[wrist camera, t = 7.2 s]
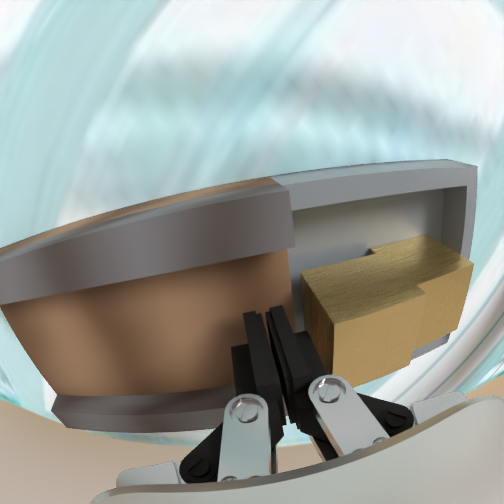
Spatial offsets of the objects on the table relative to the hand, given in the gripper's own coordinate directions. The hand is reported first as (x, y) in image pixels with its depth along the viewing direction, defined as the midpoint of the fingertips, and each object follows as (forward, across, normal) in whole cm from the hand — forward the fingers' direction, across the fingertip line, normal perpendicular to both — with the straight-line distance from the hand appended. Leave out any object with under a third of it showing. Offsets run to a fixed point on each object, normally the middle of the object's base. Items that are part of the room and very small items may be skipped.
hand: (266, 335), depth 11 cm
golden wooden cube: (+2, -4, 0) cm, 4 cm away
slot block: (+3, +7, 0) cm, 7 cm away
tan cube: (+2, -8, 0) cm, 8 cm away
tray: (+3, -7, 0) cm, 8 cm away
